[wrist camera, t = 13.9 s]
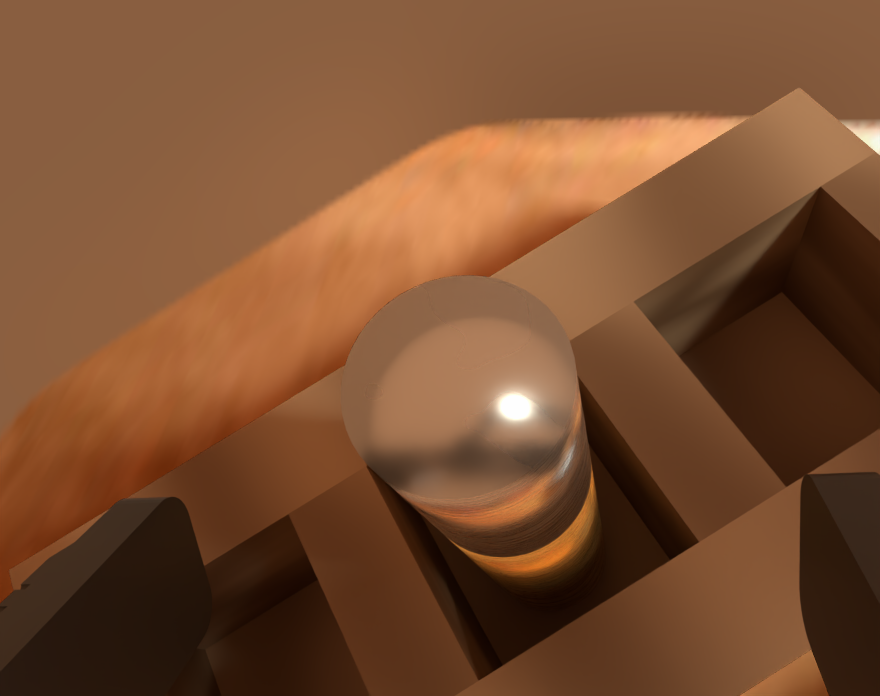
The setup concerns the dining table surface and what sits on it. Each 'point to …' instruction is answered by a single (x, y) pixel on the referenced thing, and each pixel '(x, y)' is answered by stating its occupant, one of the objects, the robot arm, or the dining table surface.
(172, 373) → the dining table surface
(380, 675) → the vial rack
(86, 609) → the robot arm
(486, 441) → the gold clear cylinder
